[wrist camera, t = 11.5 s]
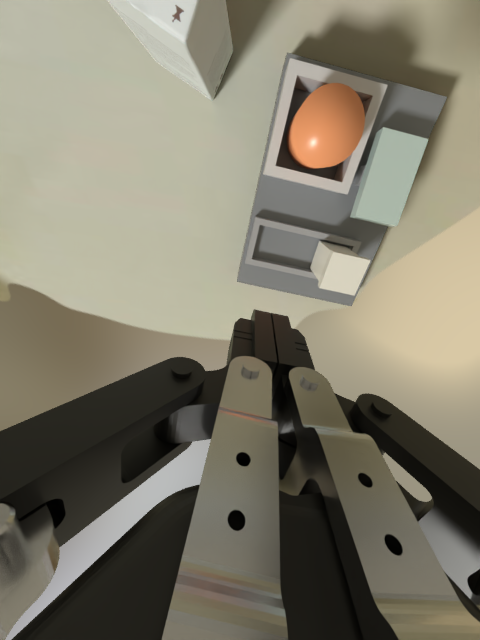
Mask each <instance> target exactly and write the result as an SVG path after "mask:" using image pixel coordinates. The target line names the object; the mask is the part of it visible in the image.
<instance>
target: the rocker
mask: <svg viewBox="0 0 480 640" xmlns="http://www.w3.org/2000/svg"><path fill="white" fill-rule="evenodd" d="M427 142H428V139H426V138H423V137H419V136H415V135H411V134H408V133H404V132H400V131H396V130H392V129H389V128H385V127H383V128H382V129H380V130H379V131H378V132H377V133H376V135H375V138H374V141H373V145H372V148H371V151H370V154H369V158H368V161H367V164H366V167H365V170H364V174H363V177H362V180H361V183H360V186H359V190H358V193H357V196H356V199H355V203H354V206H353V209H352V212H351V215H350V217H351V218H356V219H360V220H364V221H368V222H372V223H377V224H381V225H385V226H389V227H392V226H397V225H398V222H399V220H400V217H401V214H402V211H403V209H404V206H405V203H406V200H407V198H408V195H409V192H410V189H411V186H412V184H413V181H414V178H415V175H416V173H417V170H418V167H419V164H420V162H421V159H422V156H423V153H424V150H425V148H426V145H427Z"/></svg>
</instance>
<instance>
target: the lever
mask: <svg viewBox="0 0 480 640" xmlns="http://www.w3.org/2000/svg"><path fill="white" fill-rule="evenodd" d="M370 261H371V260H369V259H368V258H365V257H361V256H358V255H357V254H356V253H354V252H353V251H351V250H350V249H349V248H347V247H345V246H340V245H336V244H332V243H327V242H323V241H319V243H318V246H317V249H316V252H315V255H314V257H313V260H312V263H311V266H310V269H311V270H312V272H313V273H314V275H315V276H316V278H317V279H318V281H319V282H318V286H319V288H322V289H326V290H331V291H335V292H340V293H345V294H349V295H354V296H355V294H356V291H357V289H358V287H359V285H360V283H361V280H362V278H363V276H364V274H365V272H366V270H367V267H368V265H369V263H370Z"/></svg>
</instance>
